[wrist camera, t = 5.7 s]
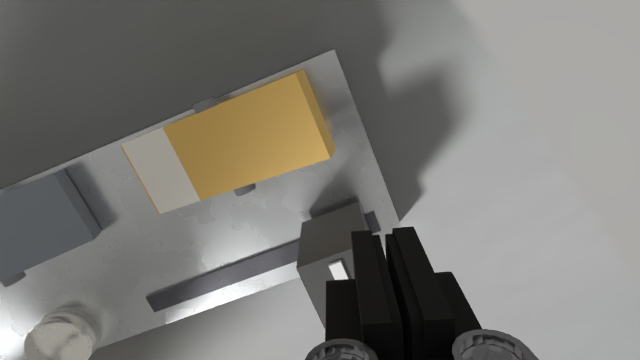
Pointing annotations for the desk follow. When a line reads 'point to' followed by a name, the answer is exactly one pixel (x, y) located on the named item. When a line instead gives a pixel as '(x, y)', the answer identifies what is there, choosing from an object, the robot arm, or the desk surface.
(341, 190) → the panel
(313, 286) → the slider knob
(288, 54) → the desk surface
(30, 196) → the slate rocker
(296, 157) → the amber rocker
